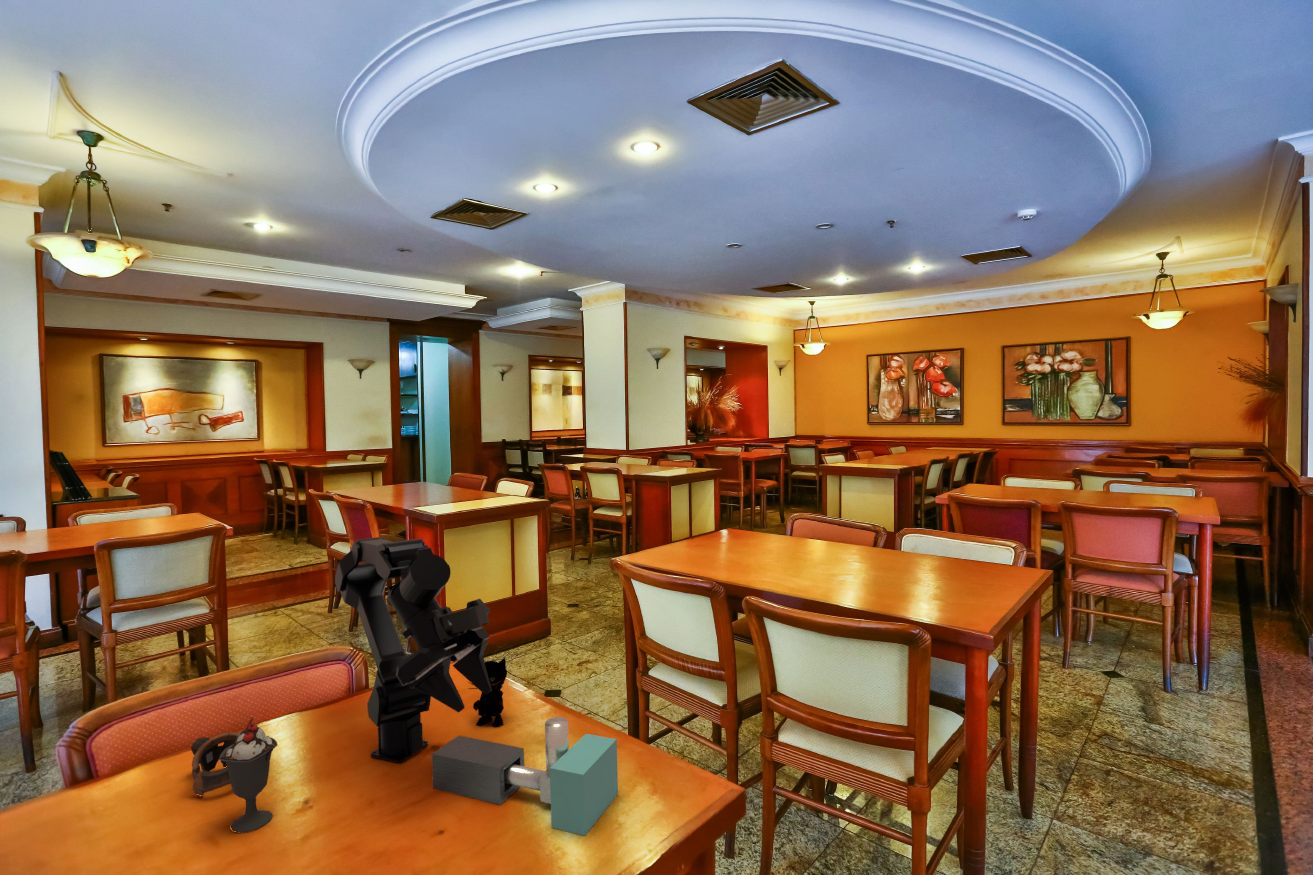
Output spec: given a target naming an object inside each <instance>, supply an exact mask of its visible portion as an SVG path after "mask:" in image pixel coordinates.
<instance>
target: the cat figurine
mask: <svg viewBox="0 0 1313 875" xmlns="http://www.w3.org/2000/svg"><path fill="white" fill-rule="evenodd" d="M484 662H485V666H486V670H487V674H488V678H489V682H490V686H491V692H489V693H488V694H486V695H485V694H484V693H483V692H481V694H480V698H479V699H477V700H476V701H475V702H473V706H472V708H473V710H474V711H475V712H477V714H478V716H479V718H478V720H477V722H476V726H477V727H481V726H486V725H488V724H489V723H491V722H492V724H491V727H493V728H500V727H502V726H503V725H504V720H503V716H502V715H501V713H503V710H504V709H505V708H504V699H503V698H504V697H503V694H504V692H503V690H502V688H503V685H504V684H505V681H506V678H507V675H508V670H507V665H506V663H507V662H506V657H503V658H502V659H501V660H500V661H499V662H498V661H496V660H487V661H484ZM466 682H467V683H468V684H470V685H471V686H472V685H473V684H472V683H471V682H470V681H469V680H467V681H466ZM473 686H474V685H473ZM467 689H469V690H479V689H478V688H477V687H470V688H469V687H468V688H467ZM493 717H494V718H493Z"/></svg>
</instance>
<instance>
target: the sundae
mask: <svg viewBox="0 0 1313 875" xmlns="http://www.w3.org/2000/svg"><path fill="white" fill-rule="evenodd" d="M253 721H254V717H252V716H251V717H250V720H249V722H248V723H247V726H246V727H245V728H244V729H242V731H241V732H239V733H240V734H239V735H238V737H237V740H236V741H235V743H234V744H233V745H231V746H229V747H227V748H226V749H225V750H224V751H223V752H222V753H221V755H220V757H219V760H218V761H220V762H221V761H224V762H226V765H227V768H228V771H229V776H230V782H231V784H230V786H231V789H232V793H233V794H234V795H235V796H237V797H238V798H240V799H243V800H244V801H245V812H244V814H243V815H241V816H239V817H237V818H238V819H237V818H236V819H234V821H233V822H231V823H230V826H231V828H232V830H233V831H236V832H240V833H239V834H242V833H241V832H246V833H250V832H253V830H254V831H257V830H258V829H261V828H263V827H264V826H266V825H267V824H268V823H269V822H270V821H271V819H273V816H274V815H273V813H272V812H271V811H270V810H266V809H260V810H259V809H258V806H257V796H258V795H259V794H260V793H261V792H262V791H263V790H264V789H265V787H266V786H267V784H268V779H269V774H270V764H271V758H272V752H273V751H274V749H275V748H276V747H278V742H277V740H276V739H275V738H273V737H271V736H269V735H266V733H265V731H264V730H263V728H261V727H259V726H258V724H256V723H253V724H252V722H253ZM260 827H261V828H260ZM249 831H250V832H249Z"/></svg>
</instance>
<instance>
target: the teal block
mask: <svg viewBox="0 0 1313 875" xmlns="http://www.w3.org/2000/svg"><path fill="white" fill-rule="evenodd" d="M617 744H618V739H617V738H612V737H607V736H602V735H601V736H600V735H597V734H595V735H594V734H589V733H585V734H584V735H583V736H581V738H580V739H579V740H577V741H576V742H575V744H574V745H572V746H571V747H570V748H569V750H568V751H567V752H566V753H565V754H564V755H563V756H562V757H561V758H560V759H559V760H558V761H557V762H556V763H554V764H553V765H552V766H551V767H550V793H551V804H550V821H551V822H550V823H551V824H550V825H551V826H550V827H551V828H552V829H555V830H559V831H564V832H568V833H572V834H575V835H579V836H583V837H585V836H587V834H588V833H589V831H590V830H591V828H593V826H594V825H596V822H597V821H598V820H599V819H600V817H601V816H602V815H603V814H604V813H605V811H606V810H607V808H608V807H609V806H610V805H611V804H612V802H613V801H615V799H616V797H617V796H618V795H619V783H618V782H619V776H618V775H619V774H618V745H617Z"/></svg>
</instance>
